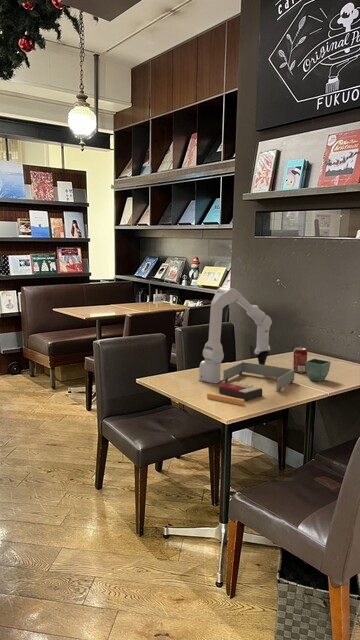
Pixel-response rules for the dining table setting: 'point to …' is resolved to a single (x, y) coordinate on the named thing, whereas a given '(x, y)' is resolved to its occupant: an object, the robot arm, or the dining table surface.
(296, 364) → the soda can
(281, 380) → the grey u-shaped barrier
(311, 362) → the flower pot
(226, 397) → the bar
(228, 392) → the calculator
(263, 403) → the dining table surface
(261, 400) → the dining table surface
